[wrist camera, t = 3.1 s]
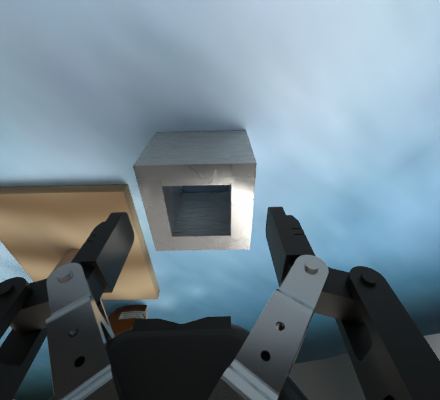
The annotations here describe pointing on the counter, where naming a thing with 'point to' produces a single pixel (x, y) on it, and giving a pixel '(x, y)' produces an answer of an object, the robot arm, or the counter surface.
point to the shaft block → (71, 232)
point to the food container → (126, 317)
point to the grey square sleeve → (198, 201)
